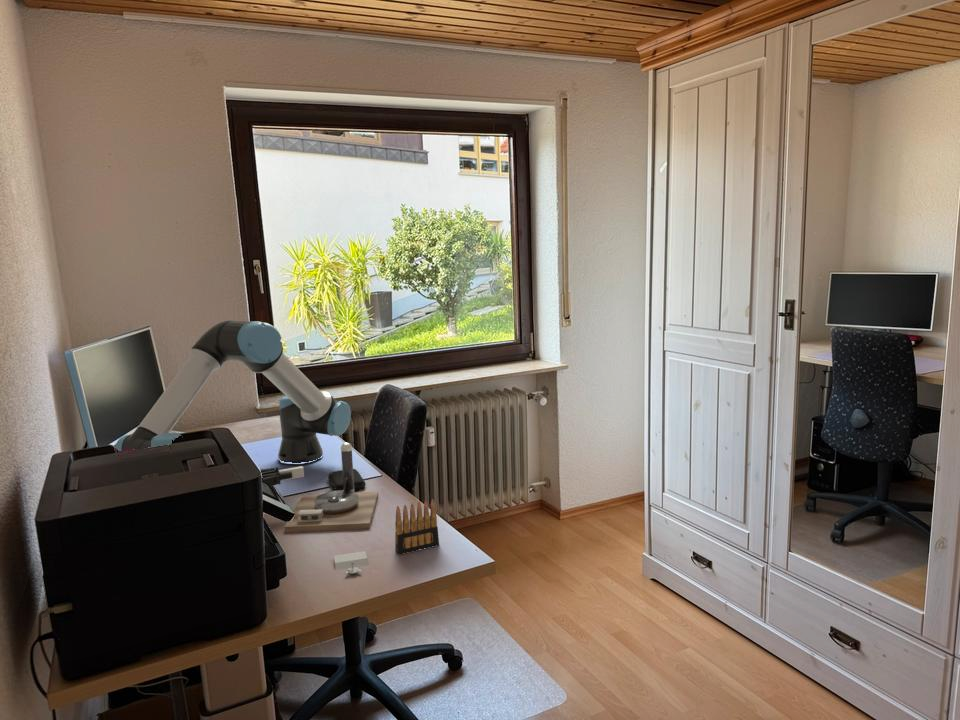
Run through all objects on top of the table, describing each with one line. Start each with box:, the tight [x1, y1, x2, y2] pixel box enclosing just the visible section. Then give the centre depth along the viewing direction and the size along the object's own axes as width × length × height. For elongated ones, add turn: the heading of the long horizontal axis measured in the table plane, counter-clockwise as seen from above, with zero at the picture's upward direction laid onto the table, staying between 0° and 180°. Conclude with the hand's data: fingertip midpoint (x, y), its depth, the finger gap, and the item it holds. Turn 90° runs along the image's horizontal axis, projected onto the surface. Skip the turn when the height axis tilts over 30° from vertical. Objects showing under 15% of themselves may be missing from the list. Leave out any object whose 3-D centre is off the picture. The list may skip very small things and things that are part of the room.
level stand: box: [284, 491, 379, 533], centre depth 181 cm, size 22×22×4 cm
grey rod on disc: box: [314, 442, 359, 514], centre depth 182 cm, size 15×12×16 cm
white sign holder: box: [333, 550, 369, 577], centre depth 149 cm, size 7×12×2 cm, turn 16°
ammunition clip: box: [394, 498, 440, 556], centre depth 157 cm, size 11×2×12 cm, turn 114°
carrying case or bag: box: [327, 468, 367, 491], centre depth 203 cm, size 11×3×15 cm
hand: (303, 471), depth 183 cm, fingers closed
